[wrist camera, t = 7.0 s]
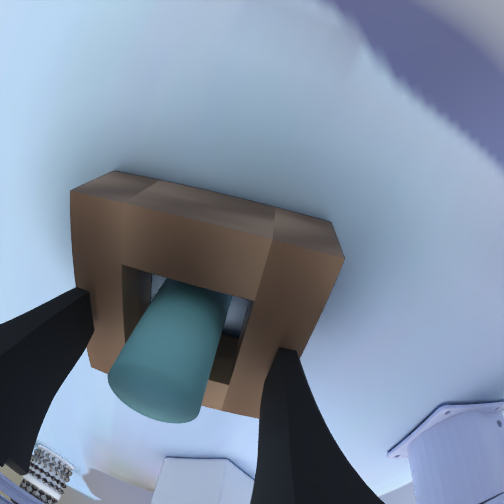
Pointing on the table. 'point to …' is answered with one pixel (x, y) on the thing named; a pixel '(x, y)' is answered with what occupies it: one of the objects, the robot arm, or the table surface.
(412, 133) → the table surface
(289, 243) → the socket block
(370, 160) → the table surface
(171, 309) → the peg
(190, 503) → the medicine bottle
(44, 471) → the decorative candle
